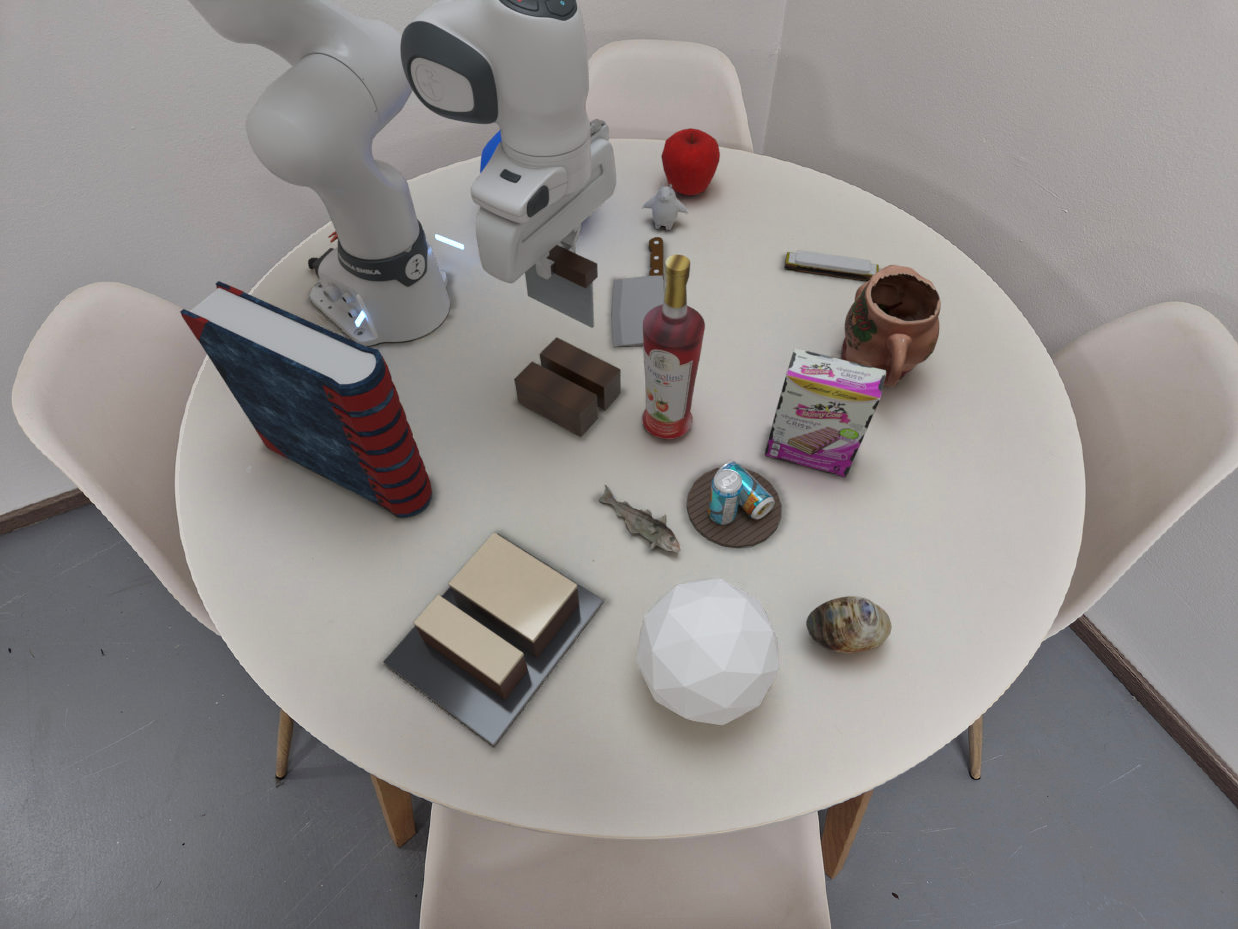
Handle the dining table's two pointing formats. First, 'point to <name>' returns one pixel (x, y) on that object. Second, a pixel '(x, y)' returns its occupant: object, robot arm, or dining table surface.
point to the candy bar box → (824, 411)
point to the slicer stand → (568, 386)
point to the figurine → (665, 207)
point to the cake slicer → (566, 285)
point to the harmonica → (831, 265)
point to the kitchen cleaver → (637, 299)
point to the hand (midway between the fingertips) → (556, 265)
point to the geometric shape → (708, 651)
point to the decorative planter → (892, 322)
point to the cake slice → (471, 646)
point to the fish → (644, 523)
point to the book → (315, 397)
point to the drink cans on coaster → (734, 506)
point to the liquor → (671, 355)
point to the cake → (500, 633)
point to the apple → (690, 160)
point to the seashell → (849, 624)
